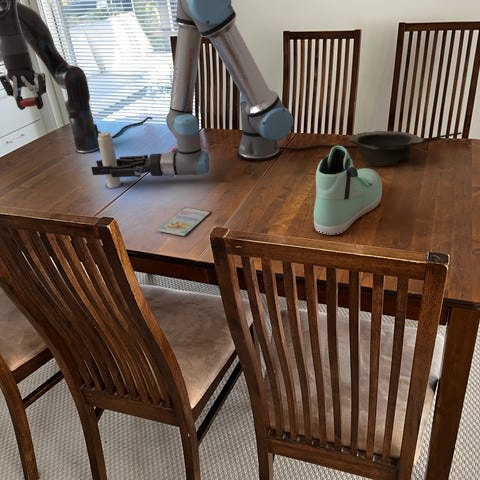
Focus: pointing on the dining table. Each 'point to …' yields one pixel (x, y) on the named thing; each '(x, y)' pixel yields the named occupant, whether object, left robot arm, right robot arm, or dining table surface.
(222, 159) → the dining table surface
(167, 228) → the baking ingredient package
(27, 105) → the lid
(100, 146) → the jar
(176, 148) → the candy cane
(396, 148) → the stone bowl
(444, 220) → the dining table surface
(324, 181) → the sneaker
